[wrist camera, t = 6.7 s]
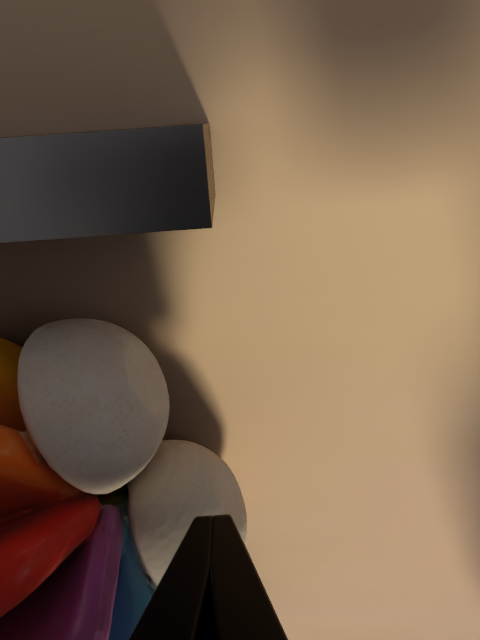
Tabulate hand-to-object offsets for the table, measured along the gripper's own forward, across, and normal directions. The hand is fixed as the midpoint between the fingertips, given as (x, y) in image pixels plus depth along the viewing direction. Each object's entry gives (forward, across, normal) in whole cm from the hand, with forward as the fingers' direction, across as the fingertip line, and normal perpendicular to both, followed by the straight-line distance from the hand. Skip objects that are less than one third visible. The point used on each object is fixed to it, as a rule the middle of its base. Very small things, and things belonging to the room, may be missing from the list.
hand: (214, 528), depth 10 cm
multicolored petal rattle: (+4, +4, +1) cm, 6 cm away
